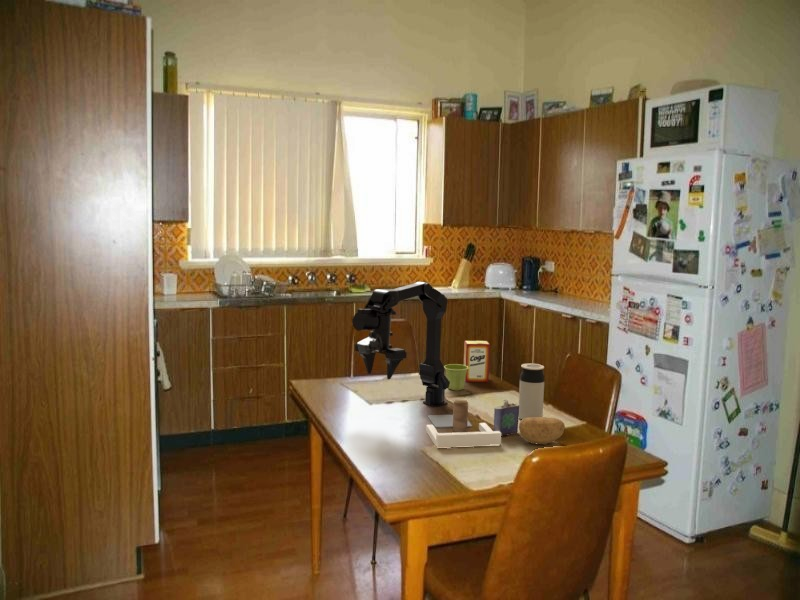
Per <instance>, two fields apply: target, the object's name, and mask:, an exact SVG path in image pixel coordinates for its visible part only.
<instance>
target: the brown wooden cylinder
mask: <svg viewBox="0 0 800 600" xmlns="http://www.w3.org/2000/svg"><path fill="white" fill-rule="evenodd" d="M452 407H453V410H452V411H453V413H452V415H453V427H452V433H456V432H468V427H467V421H469V419H468V417H469V415H468V413H469V401H468V399H465V398H456V399H454V400H453V406H452Z"/></svg>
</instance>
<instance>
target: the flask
mask: <svg viewBox="0 0 800 600" xmlns="http://www.w3.org/2000/svg"><path fill="white" fill-rule="evenodd" d="M493 411H494V413H493V430H492V431H500V432H501V436H502V437H504V436H503V435H507V434H509V435H510V434H511V433H517V432H519V418H518V417H519V404H518V403H513V402H511V403H509V400H508V399H504V400H503V405H499V406H496V407H494V410H493ZM517 434H518V433H517ZM511 435H512V434H511ZM507 436H508V435H507Z"/></svg>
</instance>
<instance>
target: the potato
mask: <svg viewBox="0 0 800 600" xmlns="http://www.w3.org/2000/svg"><path fill="white" fill-rule="evenodd" d="M565 428H566V425H565V423H564V422H563V421H562V420H561V419H559V418H556V417H544V416H543V417H529V418H524V419H522V420H521V419H520V421H519V422H518V431H519V434H520V435H521V437H523V439H524V440H526V441H527V442H529V443H530V442H532V443H531V444H534V443H537V444H536V445H538V444H546V445H548V444H547V443H549V444H551V443H553V442H554V441H557V440H558V439H560V437H562V435H563V434H564V430H565Z"/></svg>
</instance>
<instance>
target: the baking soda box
mask: <svg viewBox="0 0 800 600" xmlns="http://www.w3.org/2000/svg"><path fill="white" fill-rule="evenodd" d="M463 343H464V345H463V365H465V366H468V369H467V372H466V377H465V382H467V383H470V382H471V383H489V379H490V355H491V353H490V350H491V349H490V348H491V343H489V341H488V340H464V341H463ZM465 382H464V383H465Z"/></svg>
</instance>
